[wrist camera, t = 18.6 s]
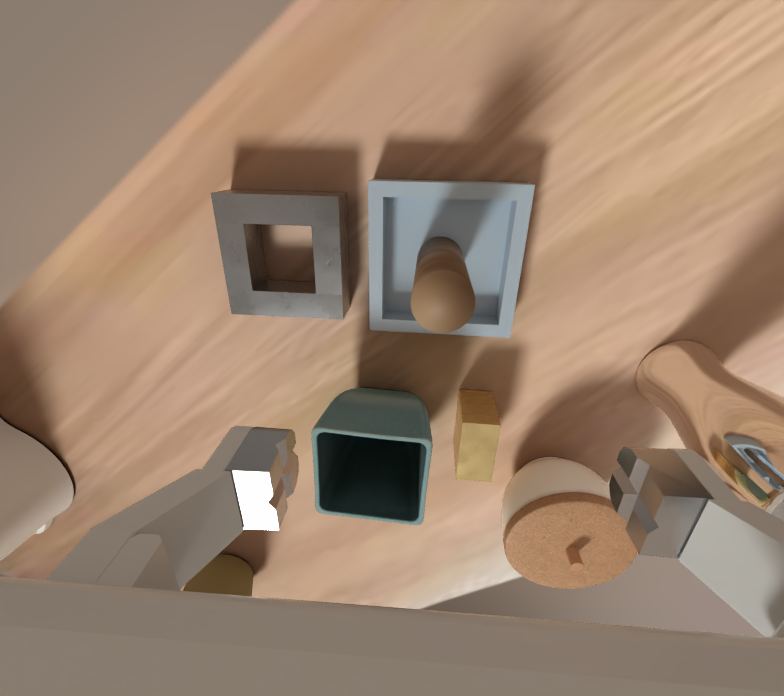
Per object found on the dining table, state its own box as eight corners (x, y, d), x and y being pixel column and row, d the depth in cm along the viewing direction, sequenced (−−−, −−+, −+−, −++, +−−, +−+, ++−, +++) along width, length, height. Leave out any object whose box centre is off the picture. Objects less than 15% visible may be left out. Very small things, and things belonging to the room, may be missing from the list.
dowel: (412, 276, 31) (404, 325, 22) (422, 232, 30) (418, 265, 21) (456, 285, 31) (465, 338, 22) (468, 241, 30) (483, 279, 21)
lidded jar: (550, 418, 37) (585, 496, 28) (628, 478, 39) (681, 567, 30) (470, 481, 41) (480, 566, 33) (544, 532, 43) (570, 624, 35)
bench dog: (453, 441, 39) (455, 479, 34) (459, 389, 36) (462, 422, 32) (484, 443, 39) (491, 481, 34) (492, 391, 36) (500, 425, 31)
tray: (373, 318, 34) (369, 330, 32) (373, 178, 29) (368, 180, 27) (505, 325, 33) (510, 337, 31) (527, 182, 28) (535, 184, 26)
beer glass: (611, 387, 35) (724, 534, 21) (669, 321, 32) (842, 444, 18) (677, 418, 35) (826, 580, 22) (740, 356, 32) (956, 501, 19)
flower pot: (338, 442, 40) (314, 514, 32) (337, 367, 36) (310, 427, 28) (424, 451, 40) (422, 527, 32) (433, 375, 36) (433, 439, 28)
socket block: (247, 301, 34) (231, 313, 32) (230, 189, 30) (210, 192, 28) (350, 306, 34) (343, 319, 31) (346, 192, 30) (338, 196, 27)
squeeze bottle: (193, 571, 52) (85, 758, 36) (212, 537, 49) (103, 727, 33) (249, 596, 53) (169, 787, 37) (272, 564, 50) (195, 760, 34)
